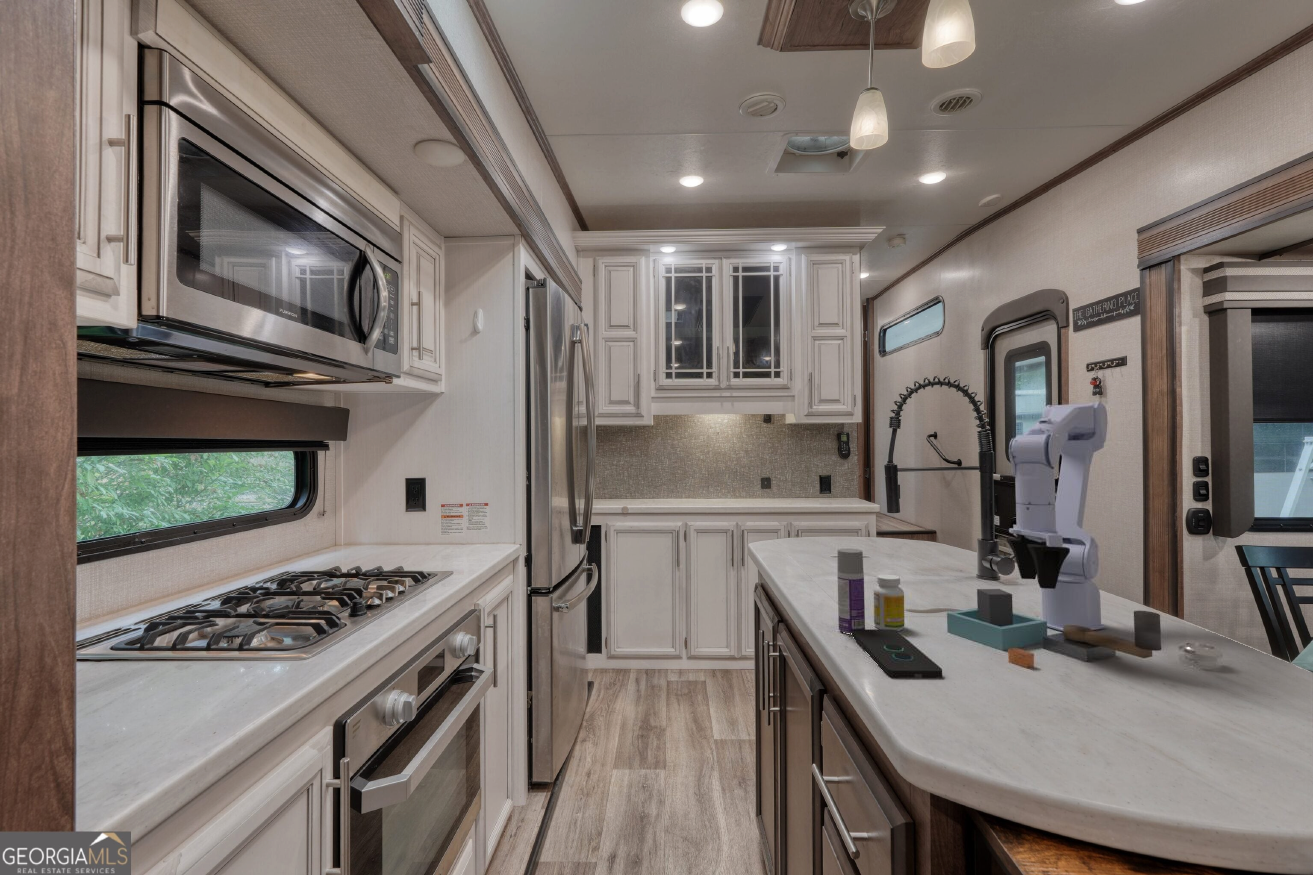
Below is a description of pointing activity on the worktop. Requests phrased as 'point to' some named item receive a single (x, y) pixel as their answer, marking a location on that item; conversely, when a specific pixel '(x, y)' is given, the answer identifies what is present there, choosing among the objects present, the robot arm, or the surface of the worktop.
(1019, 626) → the tray
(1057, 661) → the worktop surface
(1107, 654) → the wooden and grey pieces
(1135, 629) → the crank lever
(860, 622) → the container
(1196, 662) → the metal wheel
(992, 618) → the block
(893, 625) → the supplement bottle
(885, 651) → the black flat panel
